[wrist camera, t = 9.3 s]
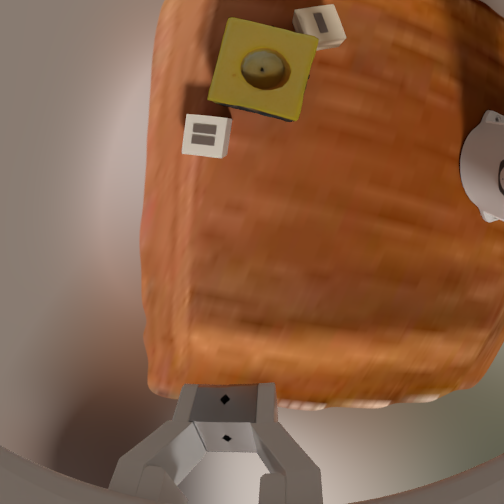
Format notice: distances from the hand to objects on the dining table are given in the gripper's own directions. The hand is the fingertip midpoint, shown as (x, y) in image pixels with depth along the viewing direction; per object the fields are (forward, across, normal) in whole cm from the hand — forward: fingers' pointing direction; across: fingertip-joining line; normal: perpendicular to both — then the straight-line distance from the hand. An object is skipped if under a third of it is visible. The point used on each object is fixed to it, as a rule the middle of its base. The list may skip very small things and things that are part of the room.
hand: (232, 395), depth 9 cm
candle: (+35, -2, -15) cm, 38 cm away
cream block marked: (+35, +6, -8) cm, 37 cm away
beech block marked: (+35, -10, -21) cm, 42 cm away
